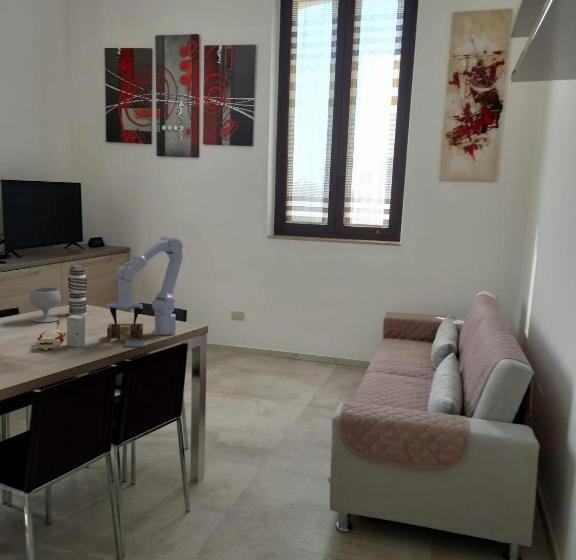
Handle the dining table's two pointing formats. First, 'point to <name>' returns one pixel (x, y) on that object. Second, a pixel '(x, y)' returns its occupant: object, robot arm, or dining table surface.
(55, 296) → the chalice
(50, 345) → the cat figure
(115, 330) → the brown wooden arch
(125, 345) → the mat
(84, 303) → the decorative candle
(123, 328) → the oak block
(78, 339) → the skincare box
